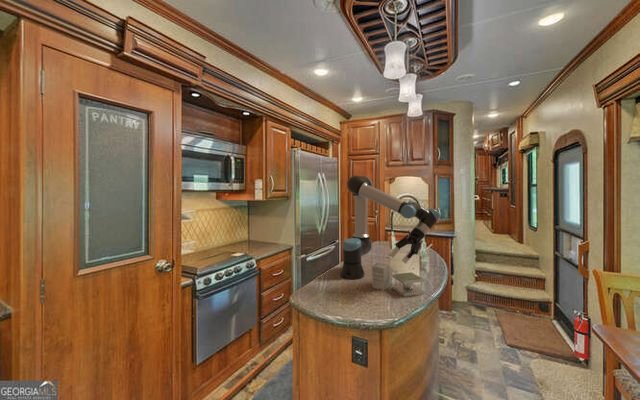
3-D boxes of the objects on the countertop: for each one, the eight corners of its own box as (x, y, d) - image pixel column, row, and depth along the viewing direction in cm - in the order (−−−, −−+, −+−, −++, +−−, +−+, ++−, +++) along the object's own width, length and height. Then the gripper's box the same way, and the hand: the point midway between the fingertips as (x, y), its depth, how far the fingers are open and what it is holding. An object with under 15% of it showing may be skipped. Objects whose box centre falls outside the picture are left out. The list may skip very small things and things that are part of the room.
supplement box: (378, 283, 159) (377, 262, 158) (389, 286, 154) (389, 264, 153) (371, 287, 153) (371, 265, 152) (384, 290, 148) (383, 267, 148)
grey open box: (404, 296, 139) (404, 280, 139) (392, 288, 151) (392, 273, 150) (424, 294, 142) (424, 278, 142) (411, 286, 154) (411, 271, 153)
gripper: (438, 239, 147) (414, 269, 144) (411, 232, 171) (390, 257, 168) (429, 230, 146) (405, 260, 142) (404, 224, 170) (382, 250, 167)
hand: (397, 259), depth 155 cm, fingers open, 13 cm apart
